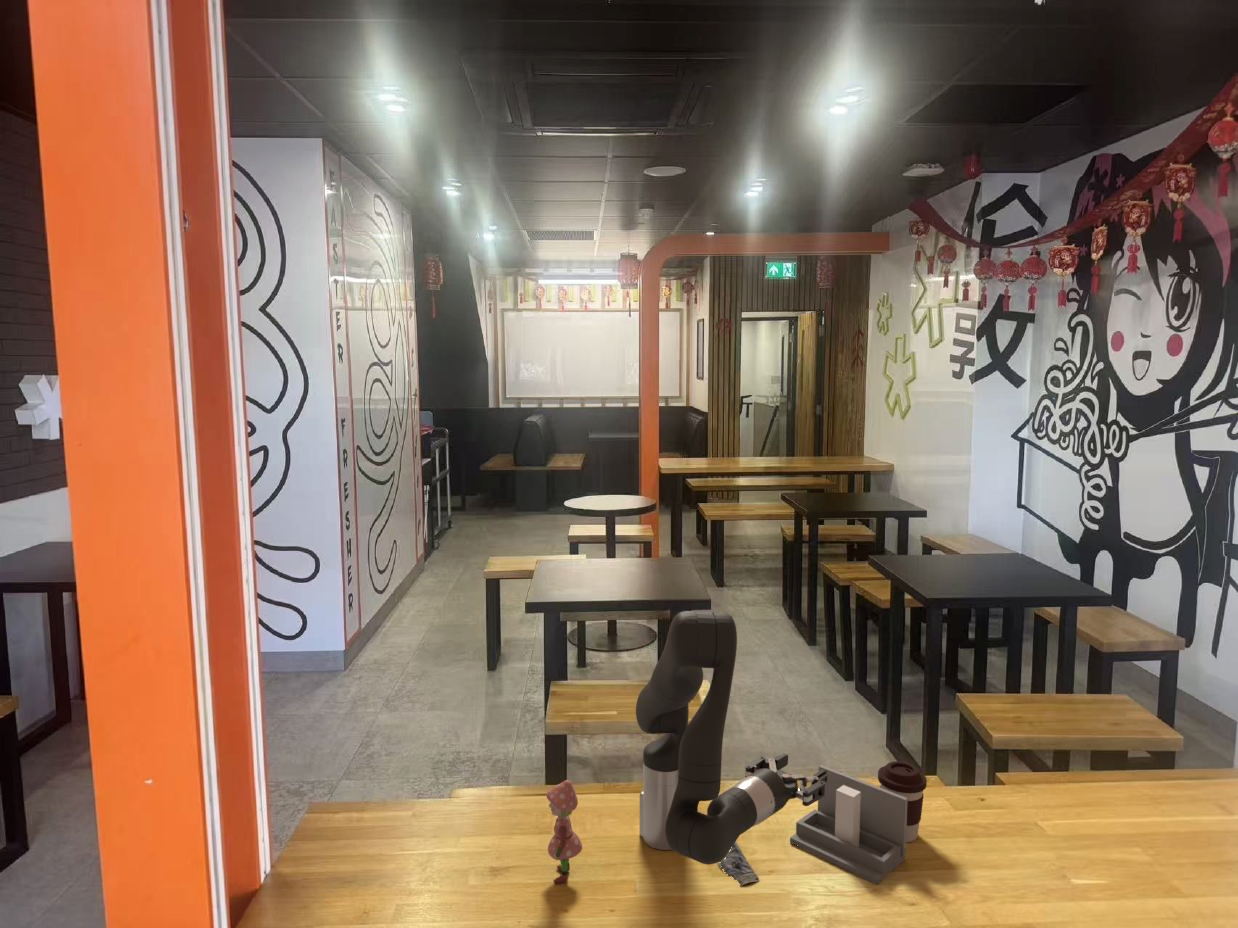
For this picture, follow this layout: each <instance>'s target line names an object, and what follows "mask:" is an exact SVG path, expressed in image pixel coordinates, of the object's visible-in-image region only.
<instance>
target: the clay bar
mask: <svg viewBox="0 0 1238 928" xmlns="http://www.w3.org/2000/svg"><path fill="white" fill-rule="evenodd" d="M860 801H861V792H860V791H857V790H855V789H852V788H850V787H847V786H845V785H843V786H841V787H840V788H838V789H837V790H836V811H835V837H837V838H839V839H841V840H843V841H845V842H848V843H850V844H852V845H854V846H856V847H859V833H860Z"/></svg>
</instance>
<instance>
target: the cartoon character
mask: <svg viewBox="0 0 1238 928" xmlns="http://www.w3.org/2000/svg"><path fill="white" fill-rule="evenodd" d="M546 799H547V801H549V804H548V807H549V808H550V810H551V814H552V815H553V816H557V817H556V818H555V823H554V826H553V832H554V834H553V836H552V838H550V841H549V843H548V847H547V853H548V854H549V857H551V858H552V859H553V860H555V861H559V862H560V864H559V865H556V868H557V870H559V871H561V874H560V875H559V876H558V877H556V878H555V879H552V880H553V883H554V884H560V883H562V884H565V883H567V881H568V879H569V878H568V873H569V872H570V868H571V867H570V859H572V858H574V857H576V856H577V855H579V854H580V853H581V852H582V851H583V844H582V840H581V839H580V837H579V836H578V834H577V833H576V832H575V831H573V827H572V821H571V819H570V818H571V817H570V815H572V813H573V811H575V810H577V809H576V808H577V806H578V804H579V802H578V796H577V793H576V790H575V788H574V786H573V783H572V782H571V781H570V780H568V779H565V780H563V781H562V782H560V783H558V784H556V786H554V787H553V788H551V789H548V791H547V792H546Z"/></svg>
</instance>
